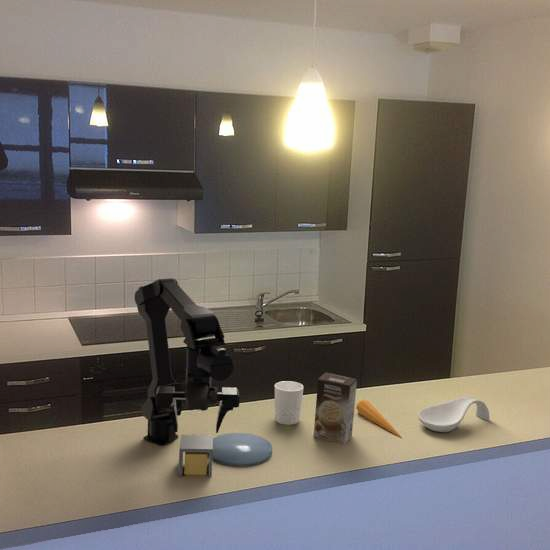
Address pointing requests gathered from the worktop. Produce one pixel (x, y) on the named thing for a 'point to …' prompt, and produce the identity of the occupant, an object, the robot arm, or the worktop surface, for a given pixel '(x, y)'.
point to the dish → (240, 449)
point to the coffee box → (335, 407)
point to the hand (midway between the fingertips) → (196, 431)
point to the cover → (195, 448)
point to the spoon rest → (450, 414)
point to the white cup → (288, 402)
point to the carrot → (374, 416)
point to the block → (195, 463)
